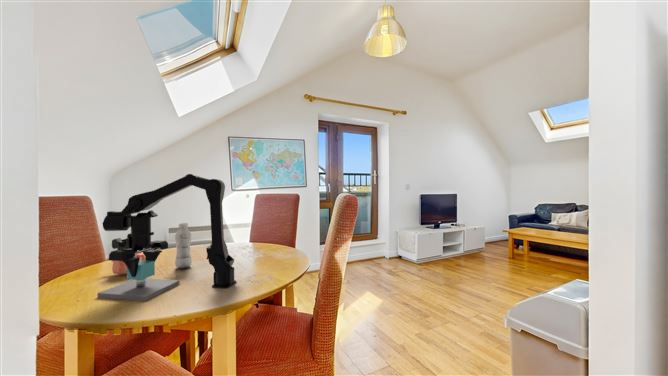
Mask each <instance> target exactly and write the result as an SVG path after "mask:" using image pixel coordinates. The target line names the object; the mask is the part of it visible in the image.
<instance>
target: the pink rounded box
mask: <svg viewBox="0 0 668 376" xmlns="http://www.w3.org/2000/svg"><path fill="white" fill-rule="evenodd" d="M136 257H140V259H139V261H140V260H146V257H145V255H144V254H143V252H141V253H137V254H136ZM110 261H111V262H112V268H111V269H112V273H113V274H114V275H116V277H119V276H122V275H123V274H124V275H125V274H126V275H127V266H126V264H125V263H124V262H123V261H113V260H110Z"/></svg>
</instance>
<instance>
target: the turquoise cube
mask: <svg viewBox="0 0 668 376" xmlns="http://www.w3.org/2000/svg"><path fill="white" fill-rule="evenodd" d="M155 264H156V261H146V260H140V261H139V264H138V269H137V273H136V276H135V277H132V276H131V274H130V272H129V270H128V268H127V274H126V280H142V279H145V278H151V277H152V276H155V275H156V274H155V269H156V267H155V266H156V265H155Z"/></svg>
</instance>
